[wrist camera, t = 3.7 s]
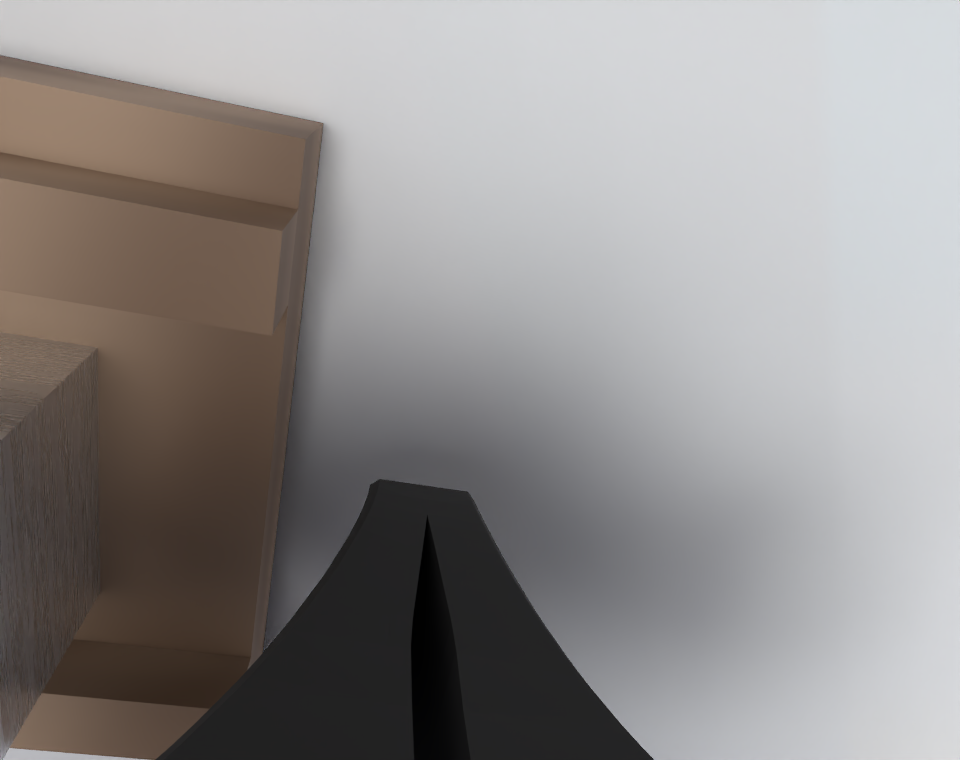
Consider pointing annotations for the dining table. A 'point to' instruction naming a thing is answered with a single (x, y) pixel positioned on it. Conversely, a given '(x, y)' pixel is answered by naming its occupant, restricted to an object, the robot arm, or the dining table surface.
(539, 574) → the dining table surface
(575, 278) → the dining table surface
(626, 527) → the dining table surface
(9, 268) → the ridged plate
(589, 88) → the dining table surface
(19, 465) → the steel chip
